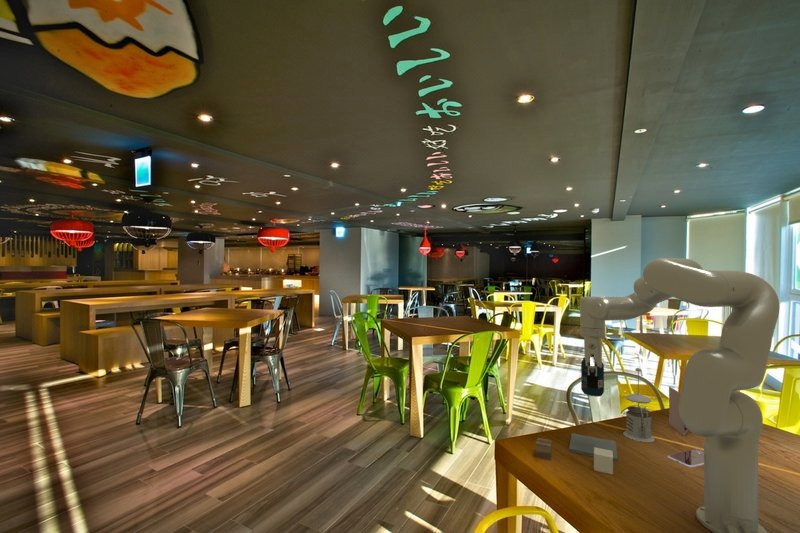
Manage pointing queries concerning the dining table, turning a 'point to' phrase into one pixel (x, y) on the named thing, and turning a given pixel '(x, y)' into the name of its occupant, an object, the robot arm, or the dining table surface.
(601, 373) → the soda can
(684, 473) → the dining table surface
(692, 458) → the mobile phone
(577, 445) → the mat
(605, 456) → the off-white block
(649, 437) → the french press
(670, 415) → the greeting card
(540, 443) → the walnut block
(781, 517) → the dining table surface
